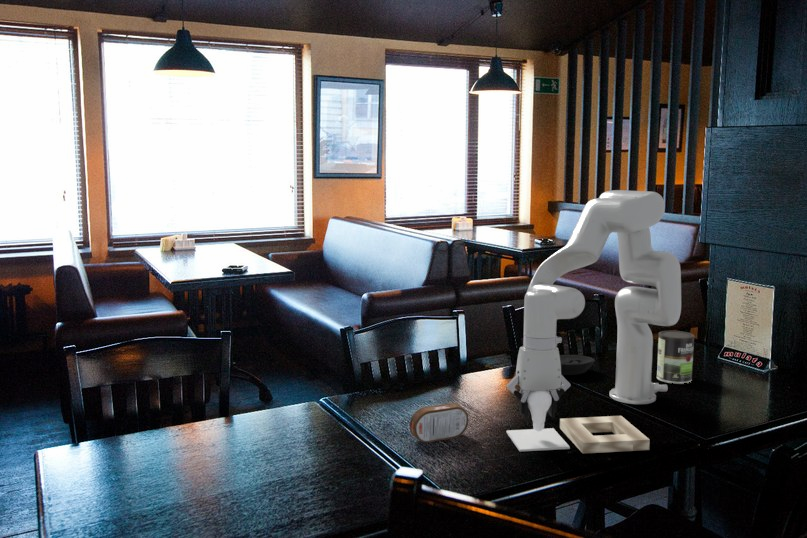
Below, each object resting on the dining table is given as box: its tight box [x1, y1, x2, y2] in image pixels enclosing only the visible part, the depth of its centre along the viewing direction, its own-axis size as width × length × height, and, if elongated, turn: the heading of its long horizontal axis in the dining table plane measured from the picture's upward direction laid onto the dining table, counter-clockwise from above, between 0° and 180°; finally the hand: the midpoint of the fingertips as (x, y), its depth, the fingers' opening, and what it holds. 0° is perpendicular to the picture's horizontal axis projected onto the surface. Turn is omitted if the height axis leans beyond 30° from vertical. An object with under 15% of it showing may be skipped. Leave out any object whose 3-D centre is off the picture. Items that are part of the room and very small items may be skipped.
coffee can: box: [656, 330, 695, 385], centre depth 223 cm, size 10×10×14 cm
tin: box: [409, 402, 470, 444], centre depth 177 cm, size 15×3×8 cm, turn 114°
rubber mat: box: [506, 427, 571, 452], centre depth 176 cm, size 12×12×1 cm
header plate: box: [559, 415, 650, 454], centre depth 177 cm, size 16×16×2 cm
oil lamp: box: [559, 354, 596, 376], centre depth 230 cm, size 15×20×5 cm
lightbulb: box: [526, 390, 552, 432], centre depth 175 cm, size 6×6×11 cm
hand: (537, 415), depth 175 cm, fingers closed on lightbulb, 6 cm apart
